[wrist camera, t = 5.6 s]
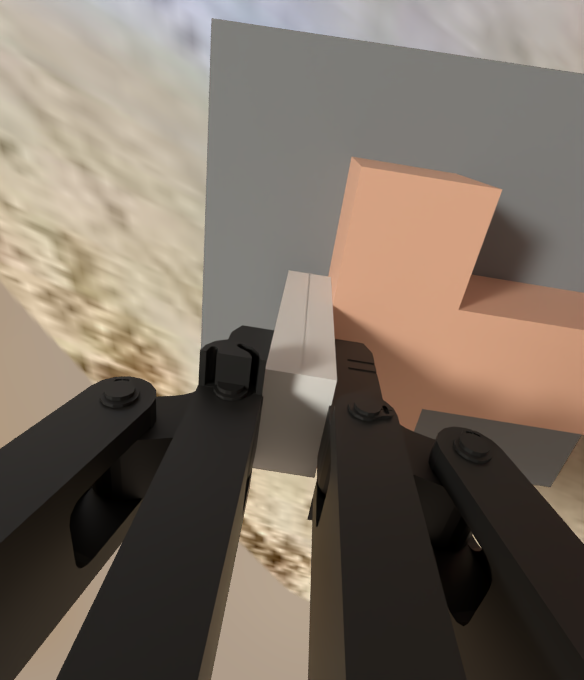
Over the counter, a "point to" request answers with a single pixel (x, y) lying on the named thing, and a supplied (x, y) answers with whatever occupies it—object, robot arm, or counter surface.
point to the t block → (449, 304)
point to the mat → (393, 147)
